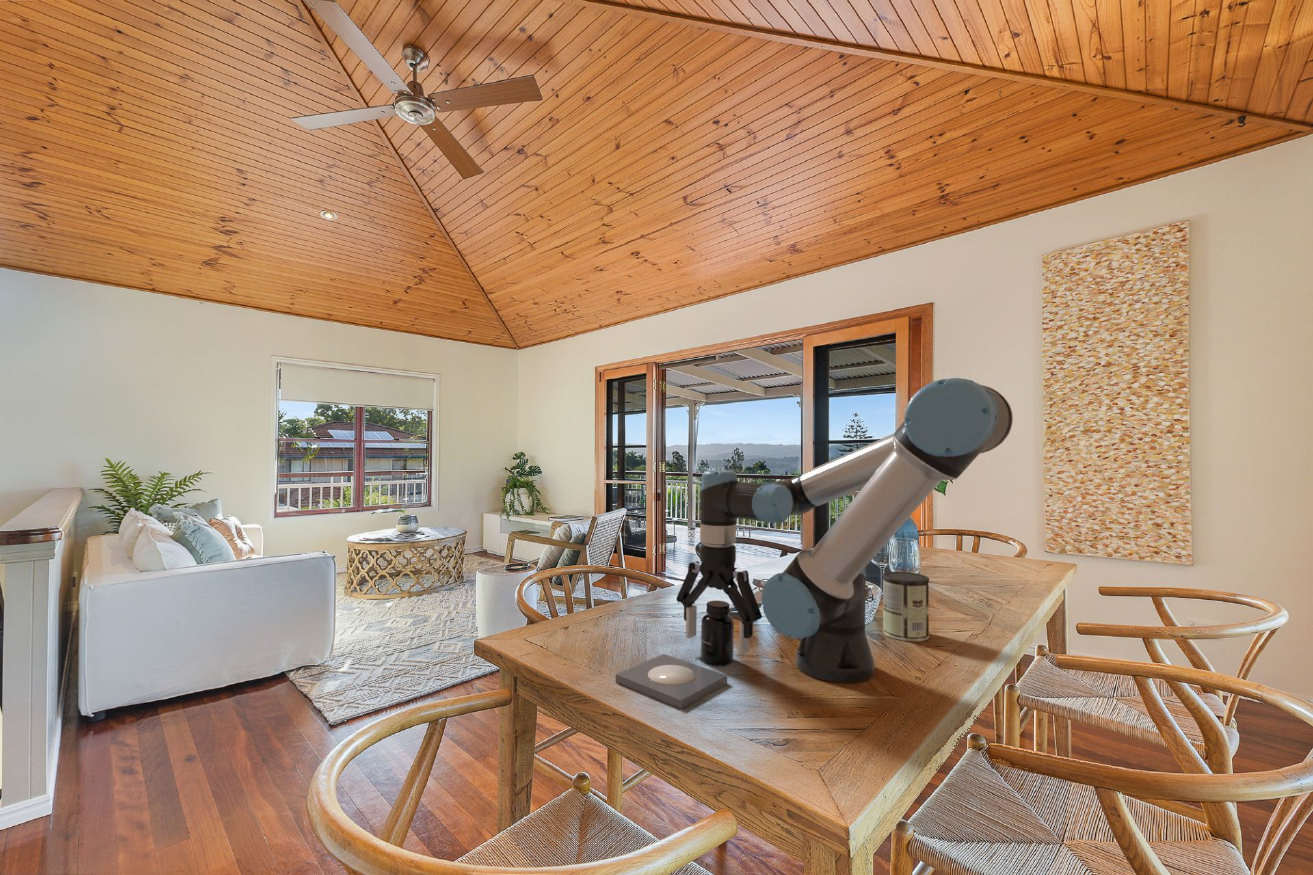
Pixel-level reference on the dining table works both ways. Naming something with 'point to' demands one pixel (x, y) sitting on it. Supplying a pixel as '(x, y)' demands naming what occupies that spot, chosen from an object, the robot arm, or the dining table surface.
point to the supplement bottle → (717, 634)
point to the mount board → (671, 680)
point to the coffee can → (906, 606)
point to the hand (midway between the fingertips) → (716, 644)
